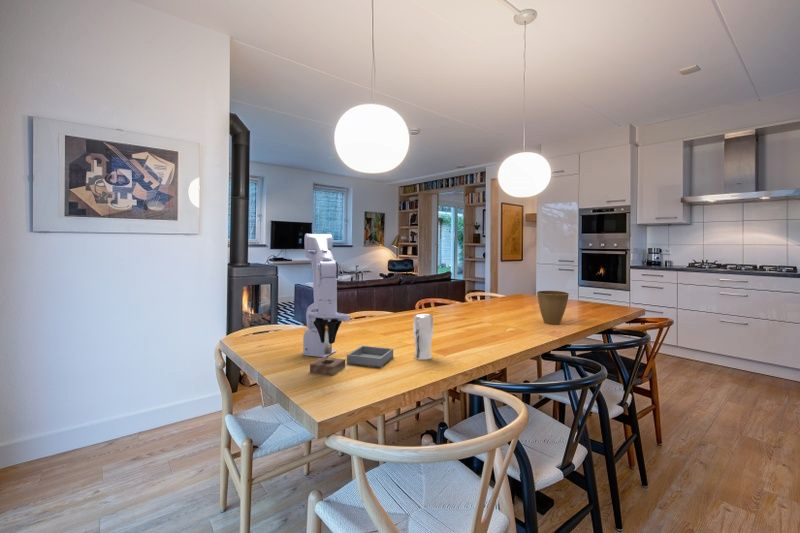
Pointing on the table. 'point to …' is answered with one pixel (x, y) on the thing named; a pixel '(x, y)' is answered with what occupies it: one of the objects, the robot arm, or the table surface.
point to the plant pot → (552, 305)
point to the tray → (370, 356)
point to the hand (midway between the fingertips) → (327, 342)
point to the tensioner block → (327, 366)
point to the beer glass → (423, 336)
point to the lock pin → (327, 341)
